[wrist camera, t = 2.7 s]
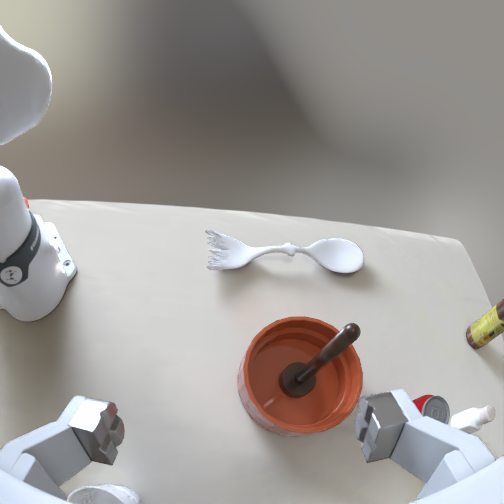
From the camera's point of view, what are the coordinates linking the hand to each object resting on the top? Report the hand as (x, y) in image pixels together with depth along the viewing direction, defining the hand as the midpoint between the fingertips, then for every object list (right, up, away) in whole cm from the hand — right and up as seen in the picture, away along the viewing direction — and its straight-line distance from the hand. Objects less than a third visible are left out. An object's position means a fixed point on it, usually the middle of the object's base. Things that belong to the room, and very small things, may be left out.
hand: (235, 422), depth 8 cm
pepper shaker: (+39, -28, +30) cm, 57 cm away
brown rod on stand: (+7, -14, +32) cm, 36 cm away
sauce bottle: (+53, -15, +44) cm, 70 cm away
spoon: (+8, +4, +49) cm, 50 cm away
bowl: (+7, -14, +33) cm, 37 cm away
